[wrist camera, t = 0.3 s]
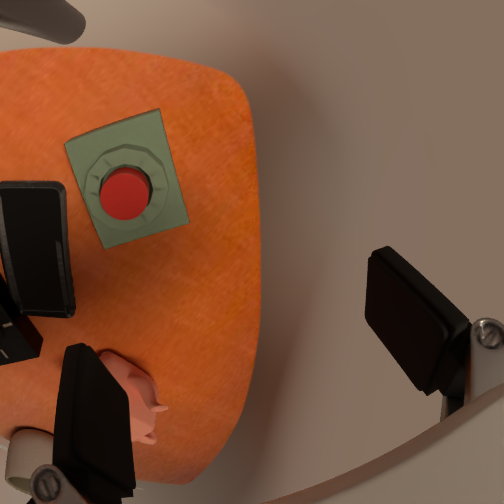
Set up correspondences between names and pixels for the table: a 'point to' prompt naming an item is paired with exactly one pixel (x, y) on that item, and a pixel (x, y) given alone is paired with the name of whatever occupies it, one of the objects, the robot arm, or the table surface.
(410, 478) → the robot arm
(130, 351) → the table surface
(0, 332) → the dial
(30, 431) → the planter
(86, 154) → the button box
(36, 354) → the dial panel
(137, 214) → the button
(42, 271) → the phone
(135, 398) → the teapot
